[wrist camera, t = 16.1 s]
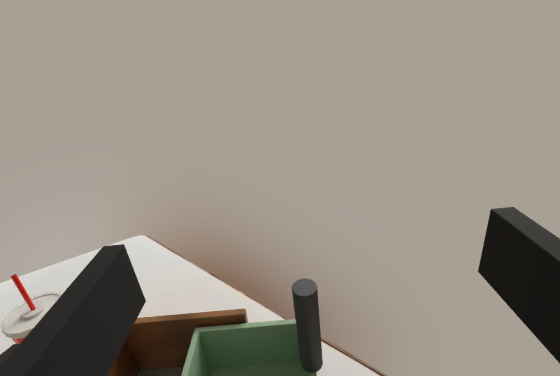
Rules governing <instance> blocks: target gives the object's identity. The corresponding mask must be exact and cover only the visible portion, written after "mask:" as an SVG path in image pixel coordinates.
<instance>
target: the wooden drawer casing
mask: <svg viewBox="0 0 560 376" xmlns="http://www.w3.org/2000/svg"><path fill="white" fill-rule="evenodd" d="M244 323H248V319H247V314H246V309H236V310H224V311H213V312H201V313H190V314H178V315H167V316H155V317H144V318H137V319H136V321H135V323H134V325H133V327H132V329H131V331H130V333H129V335H128V337H127V339H126V341H125V343H124V345H123V347H122V348H121V350H120V352H119V354H118V356H117V358H116V360H115V362H114V364H113V366H112V368H111V370H110V372H109V374H108V376H137V374H138V372H139V370H143V369H155V368H168V367H180V366H184V364H185V361H186V357H187V354H188V351H189V347H190V344H191V340H192V337H193V333H194V330H195V328H197V327H209V326H221V325H233V324H244Z"/></svg>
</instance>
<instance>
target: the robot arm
mask: <svg viewBox="0 0 560 376" xmlns="http://www.w3.org/2000/svg"><path fill="white" fill-rule="evenodd" d="M478 272H479V273H480V274H481V275H482V276H483V277H484V279H485V280H486V281H487V282H488V283H489V284H490V285H491V287H492V288H493V289H494V290H495V291H496V292H497V293H498V294H499V296H500V297H501V298H502V299H503V300H504V301H505V302H506V303H507V305H508V306H509V307H510V308H511V309H512V310H513V311H514V312H515V313H516V315H517V316H518V317H519V318H520V319H521V320H522V321H523V323H524V324H525V325H526V326H527V327H528V328H529V329H530V330H531V331H532V333H533V334H534V335H535V336H536V337H537V338H538V339H539V340H540V342H541V343H542V344H543V345H544V346H545V347H546V348H547V349H548V350H549V352H550V353H551V354H552V355H553V356H554V357H555V359H556V360H557V361H558V362H559V363H560V239H559V238H558V237H556V236H555V235H553V234H552V233H550V232H549V231H548V230H546V229H545V228H543V227H542V226H540V225H538V224H537V223H536V222H534V221H533V220H532V219H530V218H529V217H527V216H526V215H524V214H523V213H521V212H519V211H518V210H517V209H515V208H514V207H509V208H498V209H491V211H490V217H489V221H488V226H487V231H486V236H485V241H484V246H483V250H482V256H481V260H480V265H479V270H478ZM145 302H146V300H145V298H144V295H143V293H142V290H141V287H140V285H139V282H138V280H137V277H136V274H135V272H134V269H133V267H132V264H131V261H130V259H129V256H128V254H127V251H126V248H125V246H124V244H123V245H112V246H104V247H103V248H102V249H101V250H100V251H99V252H98V253H97V255H96V256H95V257H94V258H93V259H92V260H91V261H90V263H89V264H88V265H87V266H86V267H85V268H84V270H83V271H82V272H81V273H80V274H79V275H78V277H77V278H76V279H75V280H74V281H73V282H72V284H71V285H70V286H69V287H68V288H67V289H66V291H65V292H64V293H63V294H62V295H61V296H60V298H59V299H58V300H57V301H56V302H55V303H54V305H53V306H52V307H51V308H50V309H49V310H48V312H47V313H46V314H45V315H44V316H43V317H42V319H41V320H40V321H39V322H38V323H37V324H36V326H35V327H34V328H33V329H32V330H31V331H30V332H29V334H28V335H27V336H26V337H25V338H24V339H23V341H22V342H21V343H20V344H14V345H12V346H11V347H10V348H8V349H7V350H6V351H5V352H3V353H2V354H1V355H0V376H108V374H109V372H110V370H111V368H112V366H113V364H114V362H115V360H116V358H117V356H118V354H119V352H120V350H121V348H122V347H123V345H124V343H125V341H126V339H127V337H128V335H129V333H130V331H131V329H132V327H133V325H134V323H135V321H136V319H137V317H138V315H139V313H140V311H141V309H142V307H143V305H144V303H145Z"/></svg>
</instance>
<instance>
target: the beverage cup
mask: <svg viewBox="0 0 560 376" xmlns="http://www.w3.org/2000/svg"><path fill="white" fill-rule="evenodd" d="M11 278H12V280H13V281H14V283H15V285H16V286H17V288H18V290H19V291H20V293H21V295H22V296H23V298H24V300H25V301H24V302H22V303H21V304H19V305H18V306H17V307H15V308H14V309H12V310H11V311H10V312H9V313H8V314H7V316H6V317H5V318H4V319H3V321H2V323H1V329H2V332H3V333H4V334H5V335H6V337H9V338H12V339H13V341H14V342H15V343H16V344H20V343H21V342H22V341H23V339H24V338H25V337H26V336H27V335H28V334H29V332H30V331H31V330H32V329H33V328H34V327H35V326H36V324H37V323H38V322H39V321H40V320H41V319H42V317H43V316H44V315H45V314H46V313H47V312H48V310H49V309H50V308H51V307H52V306H53V305H54V303H55V302H56V301H57V300H58V299H59V298H60V296H61V295H62V294H63V293H61V292H57V291H53V292H46V293H43V294H39V295H36V296H34V297H32V298H30V297H29V295H28V294H27V292H26V290H25V288H24V287H23V285H22V283H21V282H20V280H19V278H18V277H17V275H16V274H15V275H13V276H11Z"/></svg>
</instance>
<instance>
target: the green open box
mask: <svg viewBox="0 0 560 376" xmlns="http://www.w3.org/2000/svg"><path fill="white" fill-rule="evenodd" d="M292 294H293V301H294V310H295V319H292V320H279V321H268V322H256V323H244V324H233V325H221V326H209V327H197V328H195V330H194V333H193V337H192V340H191V344H190V347H189V351H188V354H187V357H186V361H185V364H184V368H183V371H182V375H181V376H316V372H317V371H319V370H320V369H321V367H322V364H323V362H322V348H321V336H320V322H319V307H318V294H317V285H316V283H315V282H314V281H312V280H310V279H300V280H297V281H296V282H295V283H294V284H293V286H292Z"/></svg>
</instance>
